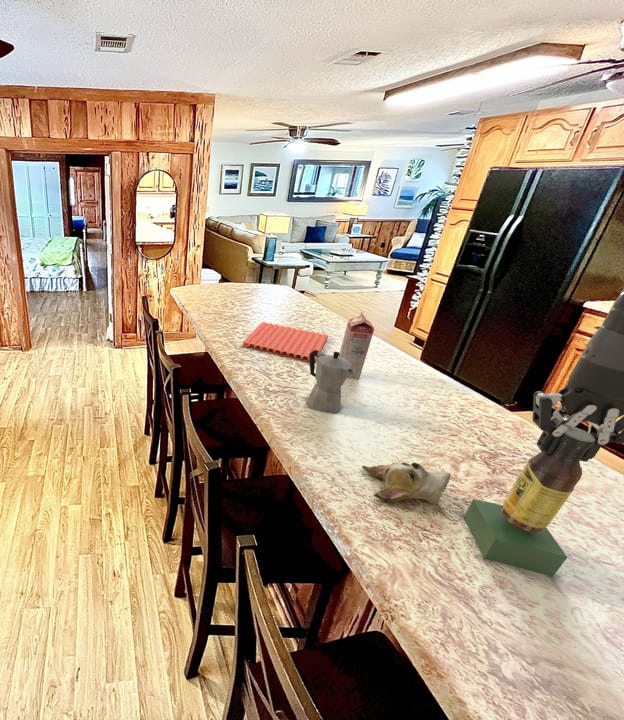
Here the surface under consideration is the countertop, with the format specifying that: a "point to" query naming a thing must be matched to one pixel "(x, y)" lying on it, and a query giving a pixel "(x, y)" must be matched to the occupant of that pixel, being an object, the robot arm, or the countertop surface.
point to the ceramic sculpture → (409, 482)
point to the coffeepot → (328, 380)
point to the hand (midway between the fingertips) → (561, 454)
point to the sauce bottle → (547, 482)
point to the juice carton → (356, 343)
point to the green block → (512, 540)
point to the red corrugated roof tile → (285, 341)
